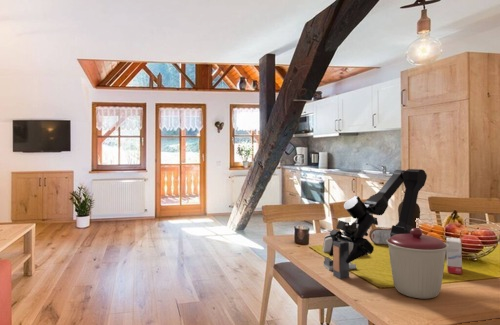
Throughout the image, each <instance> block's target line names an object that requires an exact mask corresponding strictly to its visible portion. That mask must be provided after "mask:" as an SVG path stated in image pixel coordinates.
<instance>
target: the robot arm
mask: <svg viewBox="0 0 500 325" xmlns="http://www.w3.org/2000/svg"><path fill="white" fill-rule="evenodd" d="M427 177H428V175H427V173H426V171H425V170H424V169H420V168H407V169H406V170H404V169H401V170H400V169H395V170H394V171H393V172H392V175H391V176H390V177H389V178H388V179H387V181H386V182H385V183H384V184H383V186H382V187H381V188H380V189H379V191H377V193H375V194H372V195H370V196H369V197H368V198H367V199H365V201H364V202H363V201H362V200H361V198H360V196H358V195H354V196H353V197H352V198H349V199H348V200H346V201H345V202H344V204H343V208H344V209H345V210H346V211H347V212H348V214H349V215H350V216H351V217H352V218H353V219H355V221H349V222H346V221H344V220H338V221H337V224H336V227H335V229H331V231H330V232H329V234H330V235H331V238H332V241H338V240H343V241H346V242H349V243H351V244H353V249H352V251H351V253H349V256H348V257H347V259H346V263H350V262H351V263H352V262H353V261H356V260H357V259H359V258H361V257H364V256H368V254H369V255H372V254H373V252H374V251H375V250H374V249H375V247H374V245H373V244H372V243H371V242H370V240H368V239H367V238H365V237H369V233H368V232H369V229H370V228H371V227H372V225H375V226H378V225H379V222H378V218H377V217H374V216H382V215H384V214H385V212H386V210H387V208H388V207H389V200H390V199H391V198H392V196H394V194H395V193H396V192H397V190H398V189H400V187H401V186H402V184H403V186H404V189H405V191H404V195H403V200H402V201H403V204H402V208H401V213H400V218H399V217H398V222H397V223H396V224H395V225H392V226H391V228H392V229H391V233H390V235H391V236H393V235H397V234H410V230H411V229H412V221H413V216H414V211H415V207H416V203H417V201H418V196H419V192H420V191H421V190H422V189H423V187H425V184H426V181H427ZM340 230H341V231H340ZM342 233H344V234H345V236H344V235H343V234H342ZM329 256H330V257H333V242H332V247H331V250H330V252H329Z"/></svg>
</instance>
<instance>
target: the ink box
mask: <svg viewBox="0 0 500 325" xmlns="http://www.w3.org/2000/svg"><path fill="white" fill-rule="evenodd" d="M461 240H462V239H461V238H459V237H458V238H457V237H446V242H445V243H447V244H448V246H449V247H448V249H446V269H447V273H448V274H456V275H463V259H462V258H463V257H462V254H463V252H462V241H461Z"/></svg>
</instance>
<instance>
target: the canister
mask: <svg viewBox="0 0 500 325" xmlns="http://www.w3.org/2000/svg"><path fill="white" fill-rule="evenodd" d="M386 242H387V243H388V245H387V246H388V253H389V260H390V261H389V262H390V268H391V274H392V275H391V276H392V281H393V285H394V287H395V289H396V290H397V292H398V293H401V295H404V296H405V297H409V298H414V299H419V300H420V299H423V300H424V299H426V300H427V299H428V300H429V299H434V298H436V297H437V296H439V294H440V292H441V289H442V285H443V284H442V283H443V278H444V277H443V276H444V268H445V263H446V262H445V261H446V255H447V249H448V247H449V246H448V244H447V243H446V242H444V241H443V239H440V238H438V237H436V236H431V235H426V234H423V231H422V229H420V227H419V228H412V229H411V230H410V234H397V235H393V236H391V237H390V238H388V239H387V240H386Z"/></svg>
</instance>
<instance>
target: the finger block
mask: <svg viewBox="0 0 500 325" xmlns="http://www.w3.org/2000/svg"><path fill="white" fill-rule="evenodd" d="M349 254H350V253H349V242H346V241H343V240H338V241H333V256H332V257H333V258H332V260H333V270H332V271H333V277H335V278H337V279H339V280H344V279H347V278H350V269H349V263H346V259H347V257H348V256H349Z"/></svg>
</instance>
